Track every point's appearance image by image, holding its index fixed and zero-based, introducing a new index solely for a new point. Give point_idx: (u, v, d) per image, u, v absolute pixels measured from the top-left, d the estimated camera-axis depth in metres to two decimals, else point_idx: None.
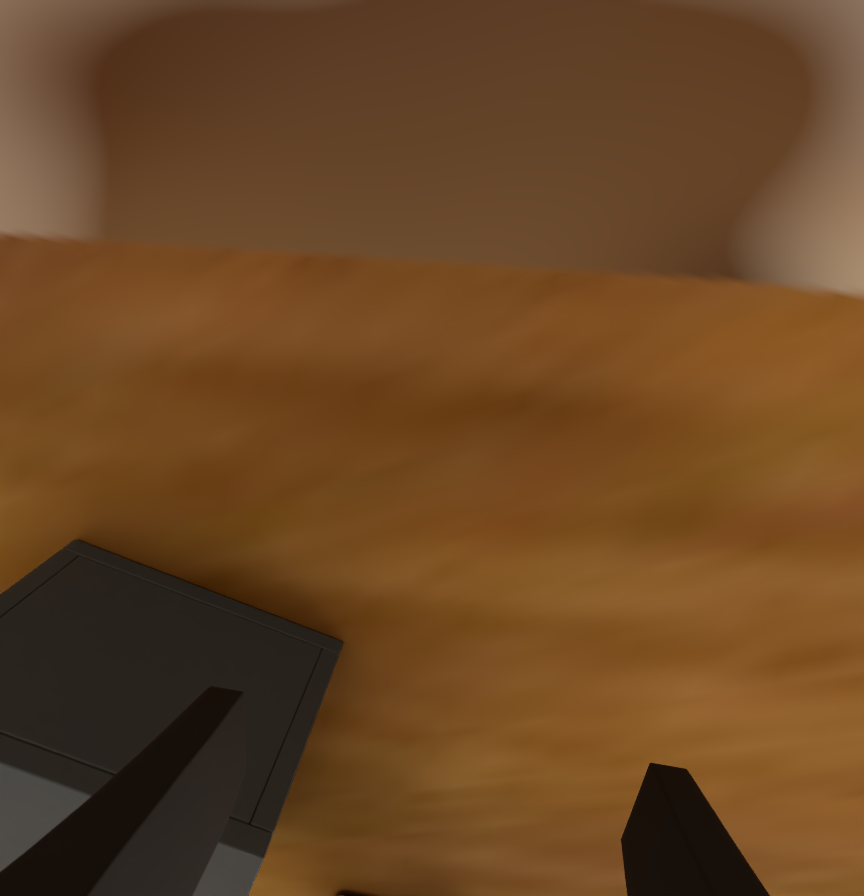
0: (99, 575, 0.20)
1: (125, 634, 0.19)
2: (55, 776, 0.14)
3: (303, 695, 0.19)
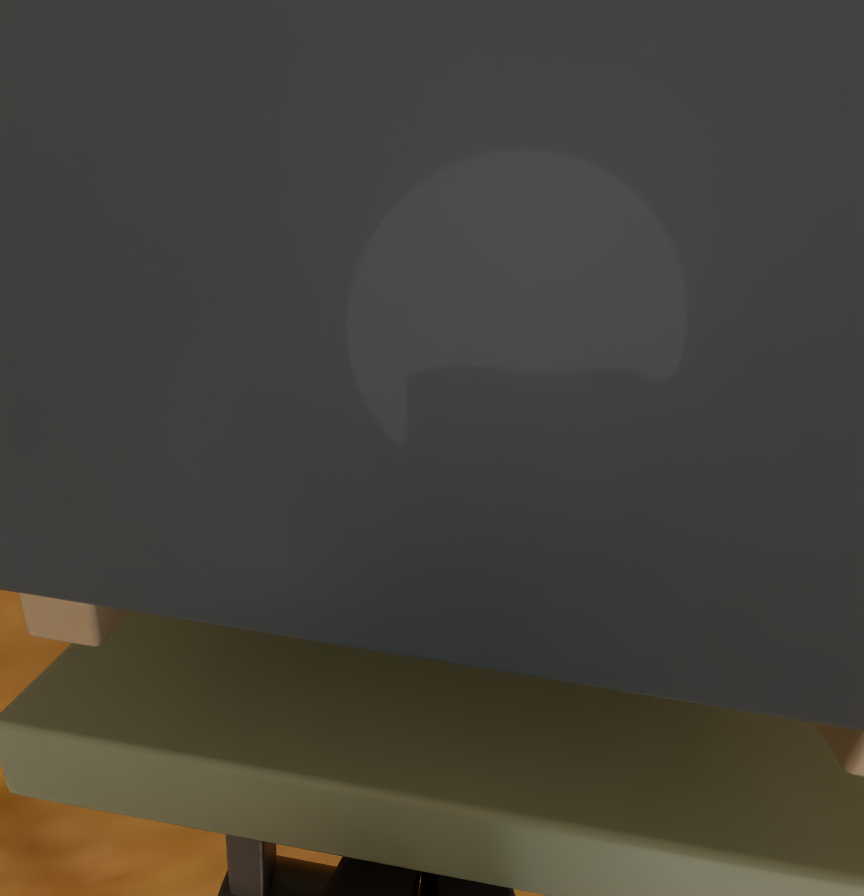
0: None
1: None
2: None
3: None
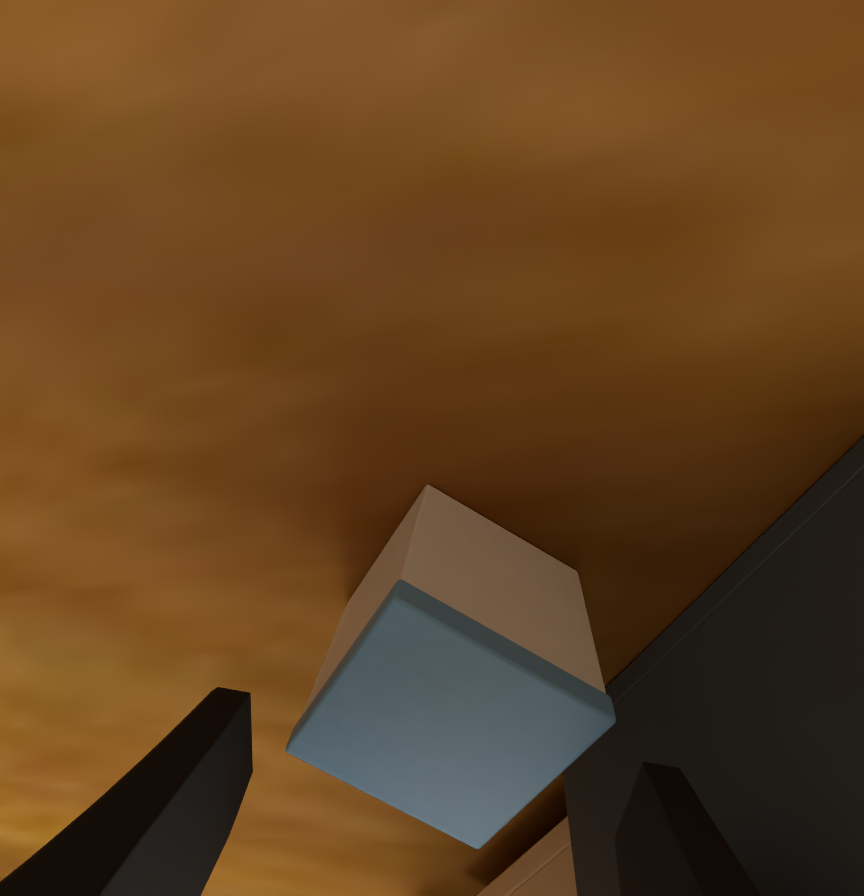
0: None
1: None
2: None
3: None
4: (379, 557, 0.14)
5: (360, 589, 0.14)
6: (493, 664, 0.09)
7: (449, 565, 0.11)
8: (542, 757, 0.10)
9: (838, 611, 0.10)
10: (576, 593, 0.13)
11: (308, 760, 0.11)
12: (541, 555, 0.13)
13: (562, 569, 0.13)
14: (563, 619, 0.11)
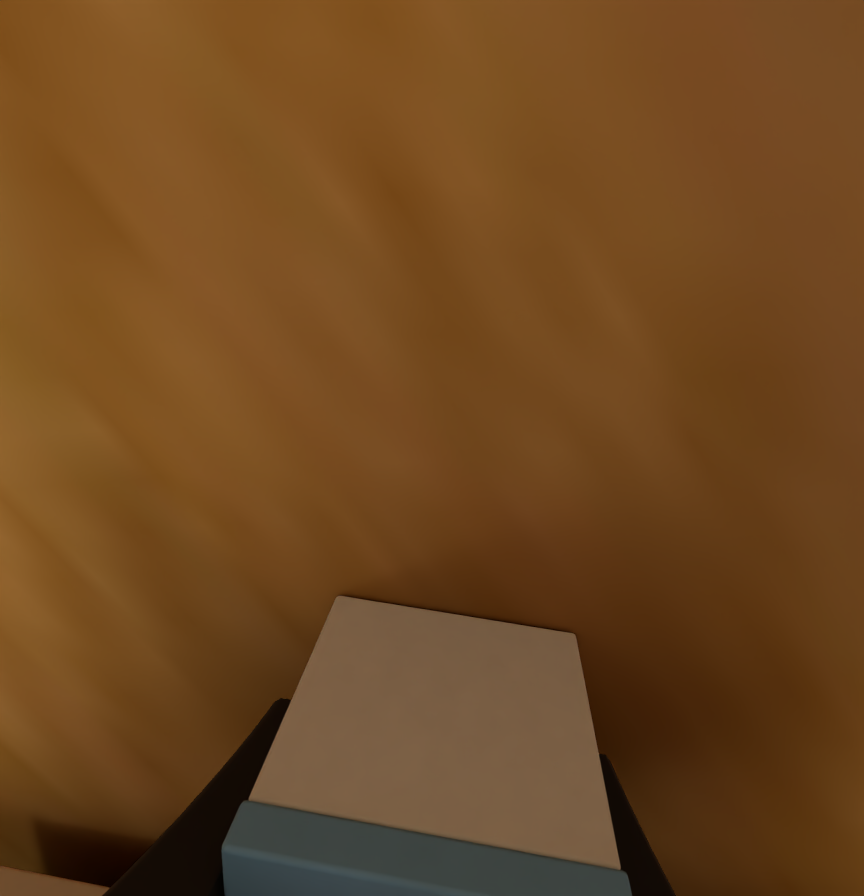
0: None
1: None
2: None
3: None
4: (447, 623, 0.10)
5: (395, 629, 0.09)
6: None
7: None
8: None
9: None
10: None
11: (230, 879, 0.06)
12: None
13: None
14: None
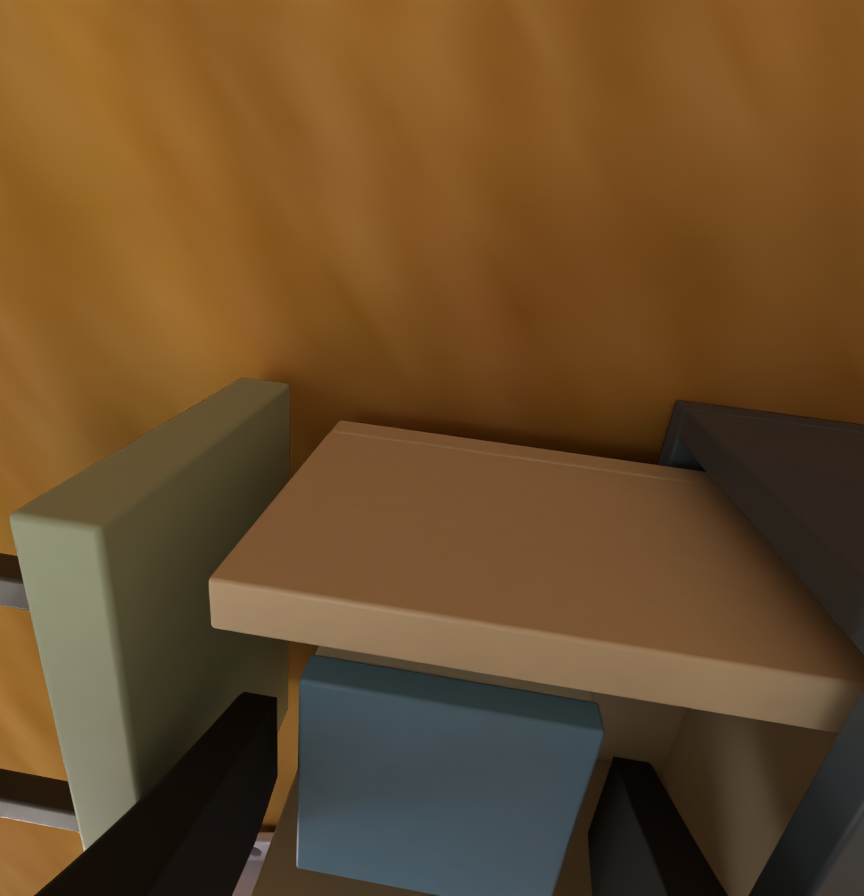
0: None
1: None
2: None
3: None
4: None
5: None
6: (562, 826, 0.09)
7: None
8: (464, 883, 0.10)
9: None
10: None
11: (305, 706, 0.08)
12: None
13: None
14: None
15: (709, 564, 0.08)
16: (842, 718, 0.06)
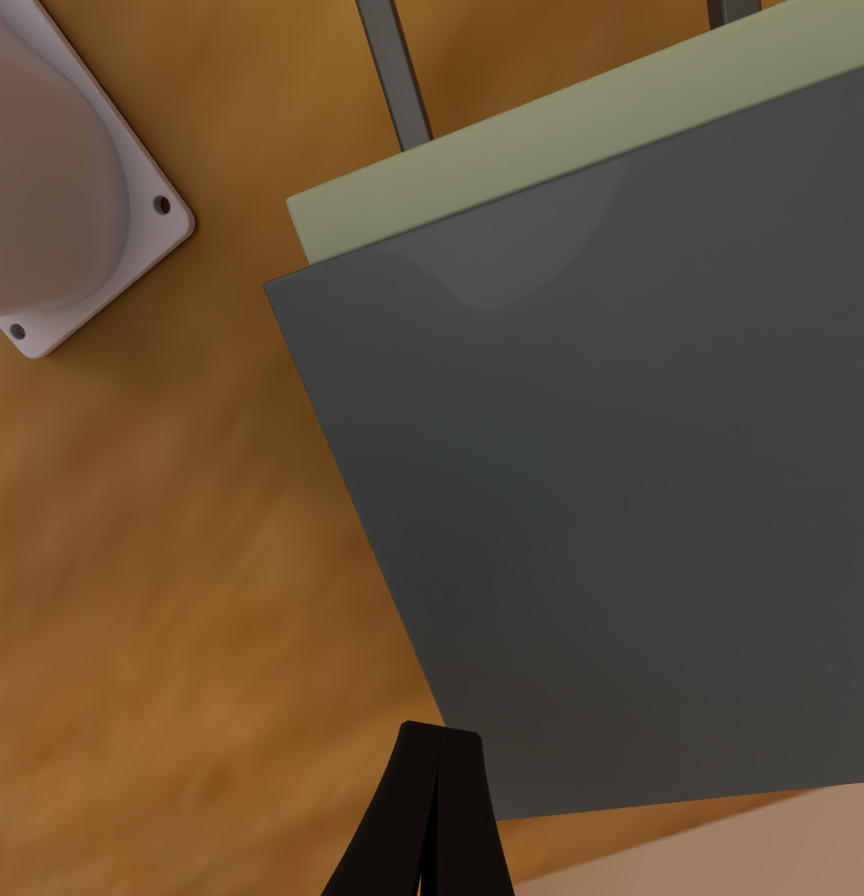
0: None
1: None
2: None
3: None
4: None
5: None
6: None
7: None
8: None
9: None
10: None
11: None
12: None
13: None
14: None
15: None
16: None
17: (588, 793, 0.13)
